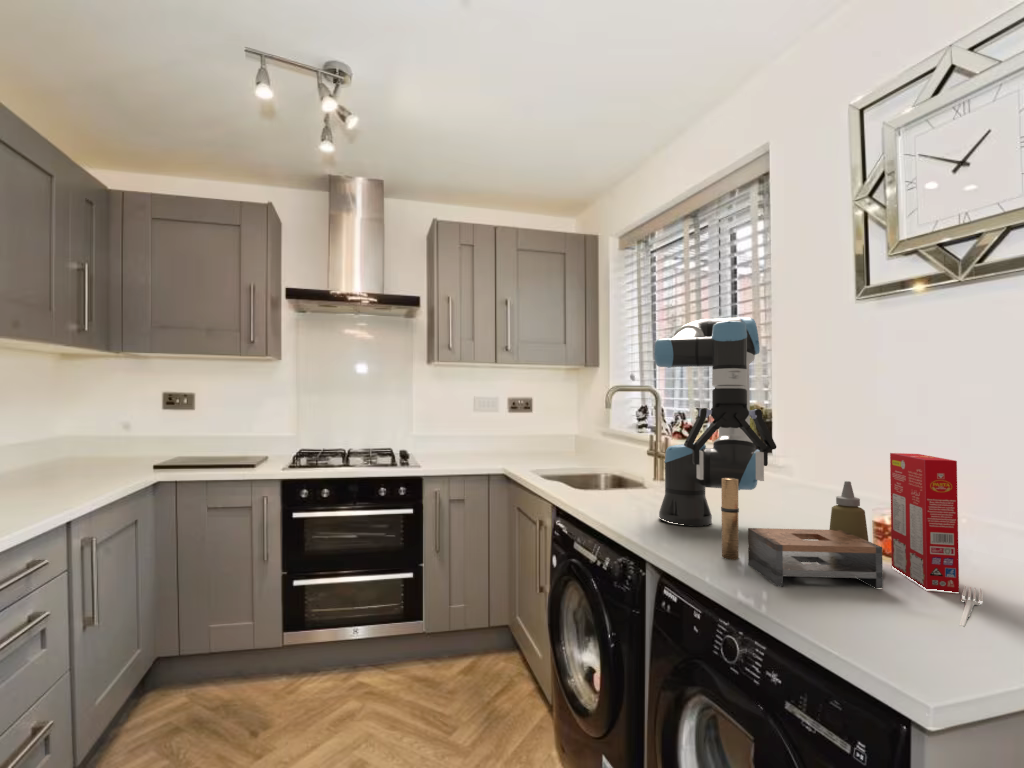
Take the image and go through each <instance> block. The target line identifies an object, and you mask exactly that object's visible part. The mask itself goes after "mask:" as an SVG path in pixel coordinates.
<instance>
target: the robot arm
mask: <svg viewBox="0 0 1024 768" xmlns="http://www.w3.org/2000/svg"><path fill="white" fill-rule="evenodd" d="M760 350H761V349H760V342H759V330H758V327H757V322H756V320H755V319H754V318H752V317H741V316H738V317H728V318H727V317H726V318H725V317H723V318H704V319H698V320H694V321H691V322H689V323H686V324H684V325H682V326H680V327H679V328H677V329H676V331H675V332H674V334H673V337H671V338H668V337H665V338H659V339H656V341H655V343H654V350H653V351H654V362H655V365H656V366H657V367H659V368H670V369H671V368H683V367H684V368H685V367H687V368H688V367H689V368H690V367H700V368H701V367H712V369H711V371H712V377H711V378H712V384H711V386H712V387H714V389H712V392H711V394H712V395H711V396H712V398H711V400H712V403H711V404H712V406H711V409H707V408H704V407H702V408H698V411H697V418H696V420H695V421H694V424H693V426H692V427H691V430H690V431H689V433H688V435H687V437H686V440H685V441H684V443H682V444H676V445H669V446H668V447H667V448H666V450H665V457H664V497H663V499H662V502H661V505H660V507H659V508H660V509H659V510H658V511H659V512H658V518H659V517H660V518H661V519H664V520H666V521H669V522H673V523H678V524H684V525H693V526H692V527H703V525H705V526H709V524H710V525H711V524H712V523H713V521H712V520H713V519H712V518H713V516H712V512H711V509H710V507H709V503H708V500H707V498H706V497H707V496H706V488H709V489H710V488H711V489H722V478H735V479H738V491H751V490H752V491H753V490H755V489H756V488H757V486H758V481H760V482H765V467H767V466H768V463H769V460H768V459H769V457H768V455H769V452H771V451H772V450H776V449H777V444H776V442H775V440H774V438H773V436H772V435H771V432H770V431H769V428H768V426H767V424H766V423H765V421H764V419H763V411H762V409H760V408H754V409H752V410H751V408H750V406H751V405H750V404H751V403H750V401H751V400H750V392H751V391H750V385H751V384H750V364H751V363H753V362H754V361H755V356H756V355H759V354H760V352H761V351H760ZM710 416H711V417H712V419H713V421H712V422H711V423H710V424H709V426H708V428H706V430H705V431H704V432H703V433H702V434H701V435H700V436H699V433H700V431H701V430H702V427H703V425H704V423H705V421H706V419H708V418H709V417H710ZM751 419H752V420H753V422H754V425H755V427H756V428H757V430H758V433H759V435H760V436H761V438H760V437H759V436H758V434H757V433H756V432H755V431H754V430H753V428H751ZM717 430H718V438H717V439H715V440H714V441H713V443H712V444H713V448H710V447H707V446H706V443H707V442H708V441H709V439H710V438H711V437H712V436H713V435H714V434H715V433H716V432H717ZM698 436H699V437H698ZM697 437H698V439H697ZM696 439H697V440H696Z"/></svg>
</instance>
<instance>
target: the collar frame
mask: <svg viewBox="0 0 1024 768" xmlns="http://www.w3.org/2000/svg"><path fill="white" fill-rule="evenodd" d="M747 540H748V541H747V545H748V546H747V547H748V548H747V549H748V550H747V555H748V557H747V558H748V559H747V561H748V562H747V564H748V566H749V567H751V568H752V569H754V570H755V572H757V573H758V574H760V575H761V576H763V577H764V578H765V579H766V580H767V581H769V582H770V583H771V584H772V585H774V586H776V587H783V586H784V577H803V578H804V577H807V578H809V577H810V578H837V579H838V578H840V579H841V578H845V579H849V578H851V579H857V578H858V579H857V580H859V579H860V580H859V581H861V580H862V581H861V582H863V581H864V582H863V583H865V584H866V583H867V584H866V585H868V584H869V585H868V586H870V585H871V586H870V587H872V586H873V587H872V588H874V587H875V588H883V589H884V584H883V583H884V581H883V580H884V578H883V576H884V575H883V574H884V573H883V572H884V571H883V568H884V567H883V547H882V546H880V545H878V544H876V543H873V542H870V541H866V540H864V539H861V538H859V537H857V536H854V535H852V534H849V533H847V532H845V531H842V530H829V529H814V528H813V529H810V528H805V529H804V528H770V527H769V528H765V527H763V528H759V527H758V528H757V527H748V528H747ZM806 563H807V564H806ZM808 563H809V564H808ZM810 563H811V564H810ZM813 563H818V564H813ZM875 588H874V589H875Z"/></svg>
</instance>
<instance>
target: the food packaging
mask: <svg viewBox="0 0 1024 768" xmlns="http://www.w3.org/2000/svg"><path fill="white" fill-rule="evenodd" d="M889 460H890V461H889V462H890V463H889V471H890V474H889V475H890V477H889V479H890V526H891V527H890V531H891V532H890V534H891V535H890V538H891V539H890V541H891V542H890V544H891V545H890V546H891V548H890V549H891V567H892V566H893V567H894V568H896V569H897V570H899V571H900V572H902V573H903V574H905V575H906V576H908V577H910V578H911V579H913V580H914V581H916V582H917V583H918V584H920V585H922V586H923V587H925V588H926V589H937V590H944V591H952V592H959V593H960V568H959V567H960V563H959V512H958V507H959V506H958V461H957V460H953V459H949V458H942V457H938V456H931V455H926V454H920V453H904V452H903V453H901V452H900V453H899V452H894V453H893V452H890V453H889Z"/></svg>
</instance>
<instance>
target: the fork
mask: <svg viewBox="0 0 1024 768" xmlns="http://www.w3.org/2000/svg"><path fill="white" fill-rule="evenodd" d="M962 595H963V596H966V597H967V598H968V597H970V598H972V599H971V600H968V599H966V600H963V599H961V600H962V601H964V602H965V603H964V602H963V603H964V608H963V611H962V615H961V617H960V622H959V624H958V626H959V625H960V626H961V627H964V628H965V626H966V624H967V622H968V620H969V618H970V616H969V615H971V614H972V611H973V609H972V608H974V606H975V605H976V606H979V605H978V604H980V603H978V600H980V601H983V602H984V597H983V589H982V588H981V587H980V588H979V592H978V599H977V587H974V588H973V596H972V586H969V587H968V595H967V585H964V587H963V590H962V594H961V596H962ZM973 599H976V600H977V601H976V602H975V601H973ZM971 610H972V611H971ZM970 613H971V614H970ZM968 617H969V618H968ZM967 619H968V620H967ZM960 626H959V627H960Z"/></svg>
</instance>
